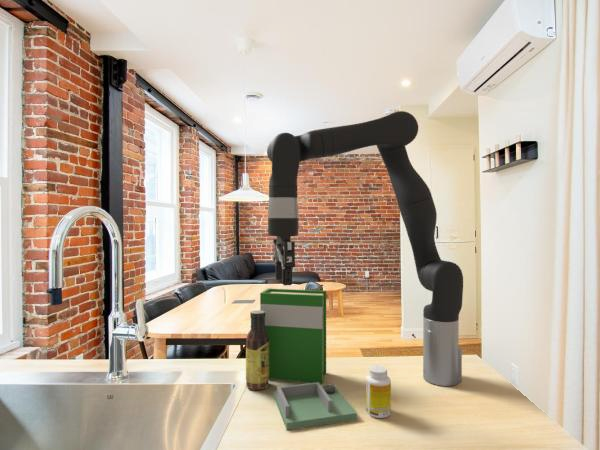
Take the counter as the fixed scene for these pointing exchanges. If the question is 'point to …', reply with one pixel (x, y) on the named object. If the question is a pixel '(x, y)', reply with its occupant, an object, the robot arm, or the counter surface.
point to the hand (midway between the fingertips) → (283, 282)
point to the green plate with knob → (312, 405)
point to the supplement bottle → (378, 392)
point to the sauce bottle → (257, 353)
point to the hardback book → (295, 333)
